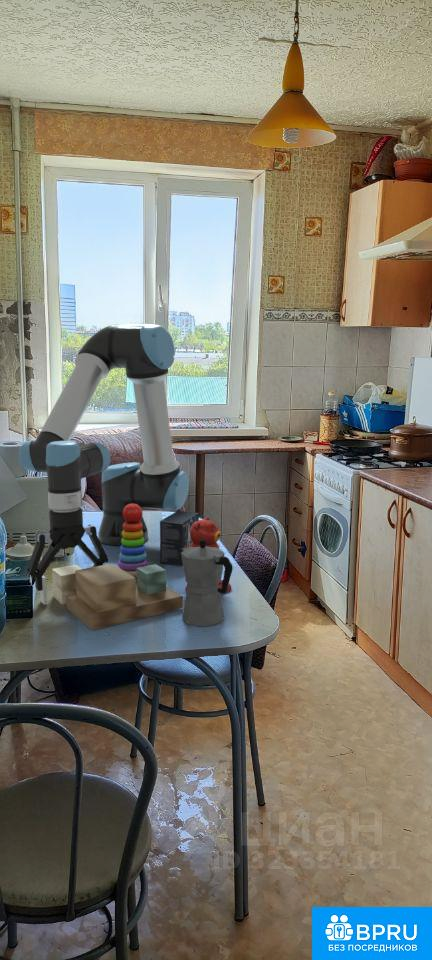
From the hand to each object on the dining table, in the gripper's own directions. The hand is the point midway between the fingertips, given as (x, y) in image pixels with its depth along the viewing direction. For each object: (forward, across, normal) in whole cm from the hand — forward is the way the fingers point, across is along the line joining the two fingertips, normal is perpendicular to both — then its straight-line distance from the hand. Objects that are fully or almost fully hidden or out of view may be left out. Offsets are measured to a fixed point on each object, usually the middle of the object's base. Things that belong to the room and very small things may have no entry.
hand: (70, 597), depth 164 cm
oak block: (0, 0, 0) cm, 0 cm away
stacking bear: (0, +29, -14) cm, 32 cm away
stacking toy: (0, +20, +7) cm, 21 cm away
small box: (0, +37, +12) cm, 39 cm away
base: (0, +8, -13) cm, 15 cm away
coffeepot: (0, +20, -29) cm, 35 cm away
